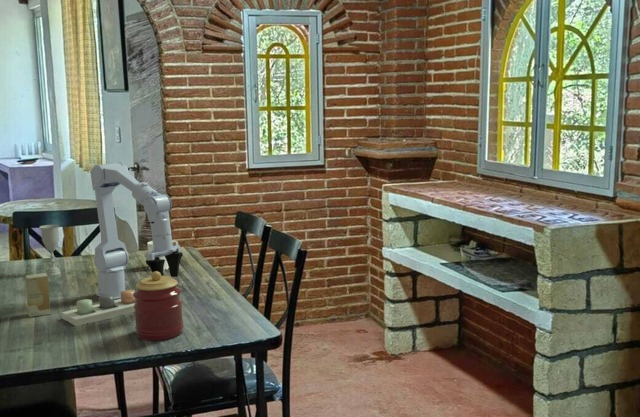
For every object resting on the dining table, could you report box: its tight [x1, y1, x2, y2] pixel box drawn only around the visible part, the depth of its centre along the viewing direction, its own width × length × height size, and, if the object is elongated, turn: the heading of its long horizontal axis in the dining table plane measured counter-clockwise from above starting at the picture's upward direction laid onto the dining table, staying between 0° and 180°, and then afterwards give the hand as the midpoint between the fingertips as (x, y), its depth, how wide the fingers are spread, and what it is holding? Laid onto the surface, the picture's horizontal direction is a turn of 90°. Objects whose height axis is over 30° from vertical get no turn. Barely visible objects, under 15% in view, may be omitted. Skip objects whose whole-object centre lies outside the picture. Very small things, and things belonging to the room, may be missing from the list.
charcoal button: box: [98, 294, 115, 309], centre depth 215 cm, size 4×4×3 cm
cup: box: [147, 239, 179, 271], centre depth 271 cm, size 8×12×10 cm
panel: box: [61, 298, 135, 327], centre depth 216 cm, size 10×24×2 cm, turn 132°
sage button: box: [76, 298, 93, 314], centre depth 211 cm, size 4×4×3 cm
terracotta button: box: [120, 289, 136, 304], centre depth 220 cm, size 4×4×3 cm
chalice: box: [39, 224, 61, 276], centre depth 265 cm, size 7×7×18 cm
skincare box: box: [25, 272, 51, 318], centre depth 216 cm, size 6×4×12 cm
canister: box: [133, 271, 184, 341], centre depth 195 cm, size 13×13×18 cm
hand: (167, 279), depth 215 cm, fingers open, 7 cm apart
